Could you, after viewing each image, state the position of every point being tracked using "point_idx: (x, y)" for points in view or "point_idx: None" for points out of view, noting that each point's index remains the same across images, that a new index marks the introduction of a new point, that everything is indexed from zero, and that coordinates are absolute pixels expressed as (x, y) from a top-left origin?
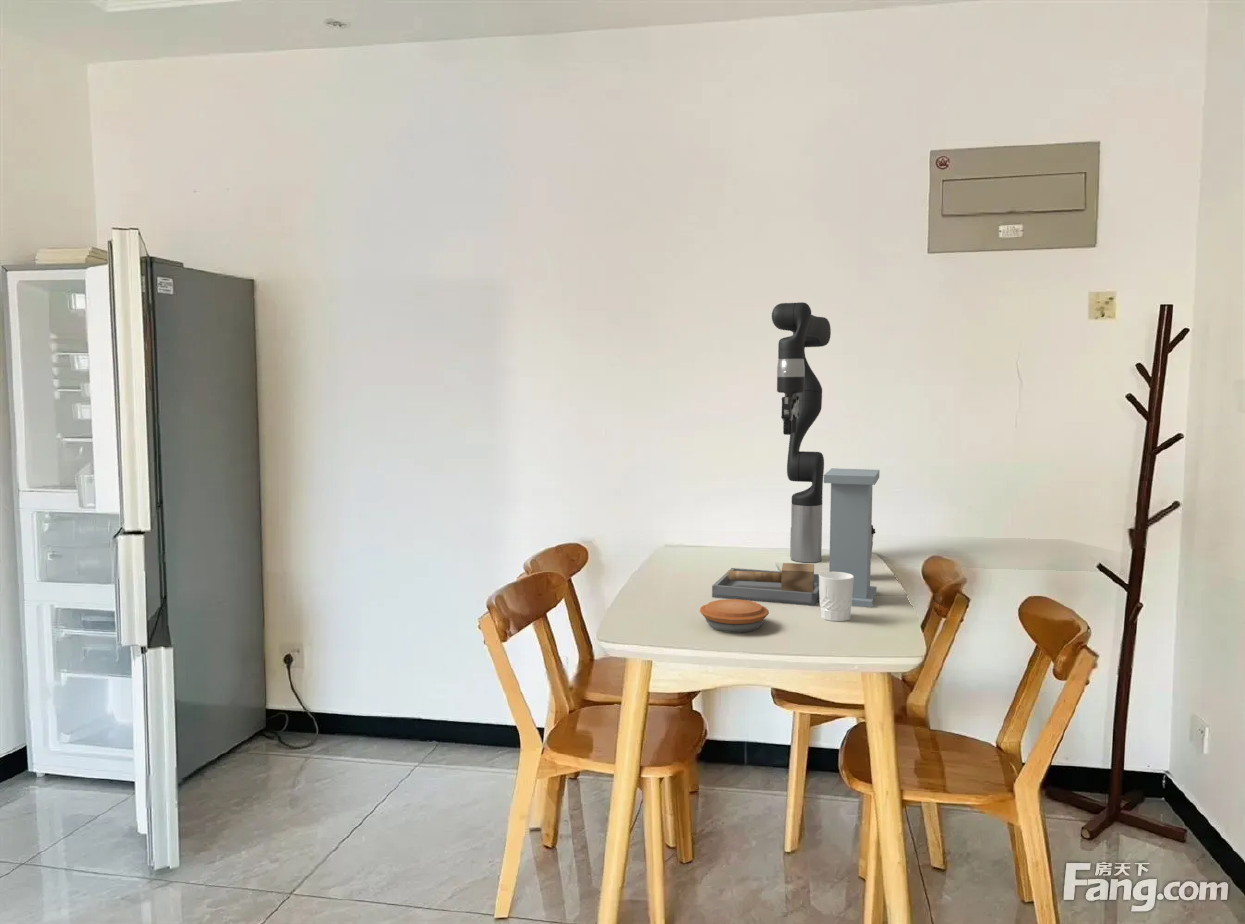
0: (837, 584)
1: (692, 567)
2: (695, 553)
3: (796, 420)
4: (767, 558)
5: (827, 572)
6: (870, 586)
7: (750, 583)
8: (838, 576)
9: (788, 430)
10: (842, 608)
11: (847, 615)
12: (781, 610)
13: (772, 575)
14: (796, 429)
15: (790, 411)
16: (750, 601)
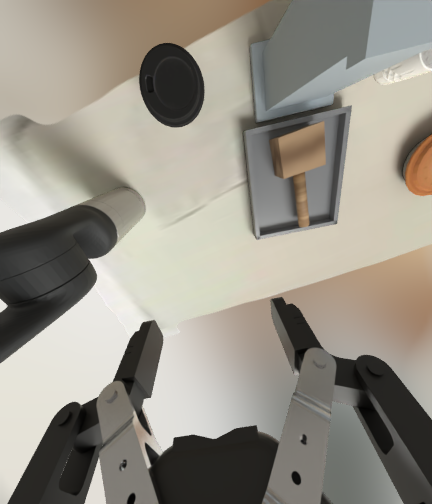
0: None
1: (227, 279)
2: (173, 300)
3: (132, 372)
4: (150, 242)
5: (422, 60)
6: (254, 54)
7: (279, 208)
8: None
9: (299, 313)
10: None
11: None
12: (366, 139)
13: (305, 180)
14: (144, 329)
15: (426, 414)
16: (427, 154)
